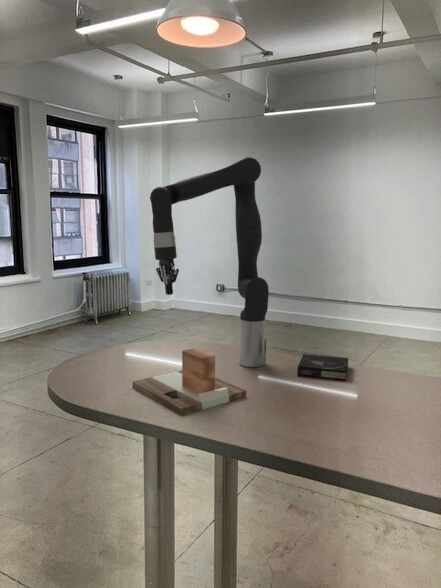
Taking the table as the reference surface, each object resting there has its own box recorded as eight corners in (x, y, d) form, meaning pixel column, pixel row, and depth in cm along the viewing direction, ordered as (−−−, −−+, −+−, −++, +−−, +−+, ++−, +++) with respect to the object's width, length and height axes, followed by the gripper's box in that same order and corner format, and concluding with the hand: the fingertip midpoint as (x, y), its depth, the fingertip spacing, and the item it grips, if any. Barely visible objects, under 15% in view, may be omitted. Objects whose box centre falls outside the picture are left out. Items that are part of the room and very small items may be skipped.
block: (195, 384, 155) (195, 347, 153) (214, 393, 147) (215, 355, 146) (182, 388, 152) (182, 350, 150) (201, 397, 144) (201, 358, 142)
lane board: (193, 373, 173) (193, 362, 172) (246, 396, 151) (246, 384, 150) (132, 387, 158) (132, 375, 157) (181, 415, 136) (181, 401, 136)
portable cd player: (297, 377, 171) (297, 366, 170) (303, 363, 187) (303, 353, 187) (345, 383, 166) (346, 371, 166) (347, 368, 183) (348, 357, 182)
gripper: (183, 244, 167) (188, 294, 170) (165, 244, 178) (169, 291, 181) (164, 246, 163) (169, 297, 166) (146, 246, 174) (151, 294, 177)
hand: (169, 294), depth 174 cm, fingers closed
